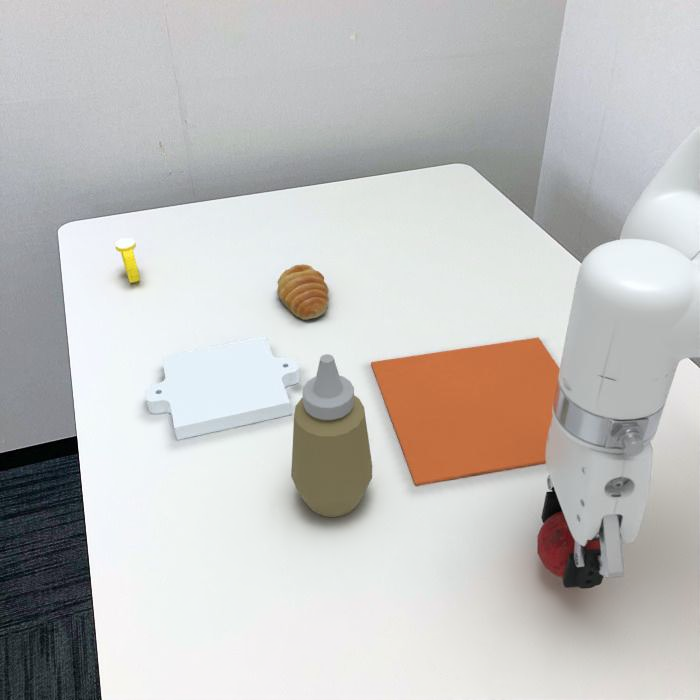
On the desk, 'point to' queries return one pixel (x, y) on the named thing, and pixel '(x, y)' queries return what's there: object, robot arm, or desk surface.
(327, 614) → the desk surface
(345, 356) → the desk surface
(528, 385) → the cloth
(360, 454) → the squeeze bottle
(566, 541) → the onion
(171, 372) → the mounting plate
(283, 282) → the pastry
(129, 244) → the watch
